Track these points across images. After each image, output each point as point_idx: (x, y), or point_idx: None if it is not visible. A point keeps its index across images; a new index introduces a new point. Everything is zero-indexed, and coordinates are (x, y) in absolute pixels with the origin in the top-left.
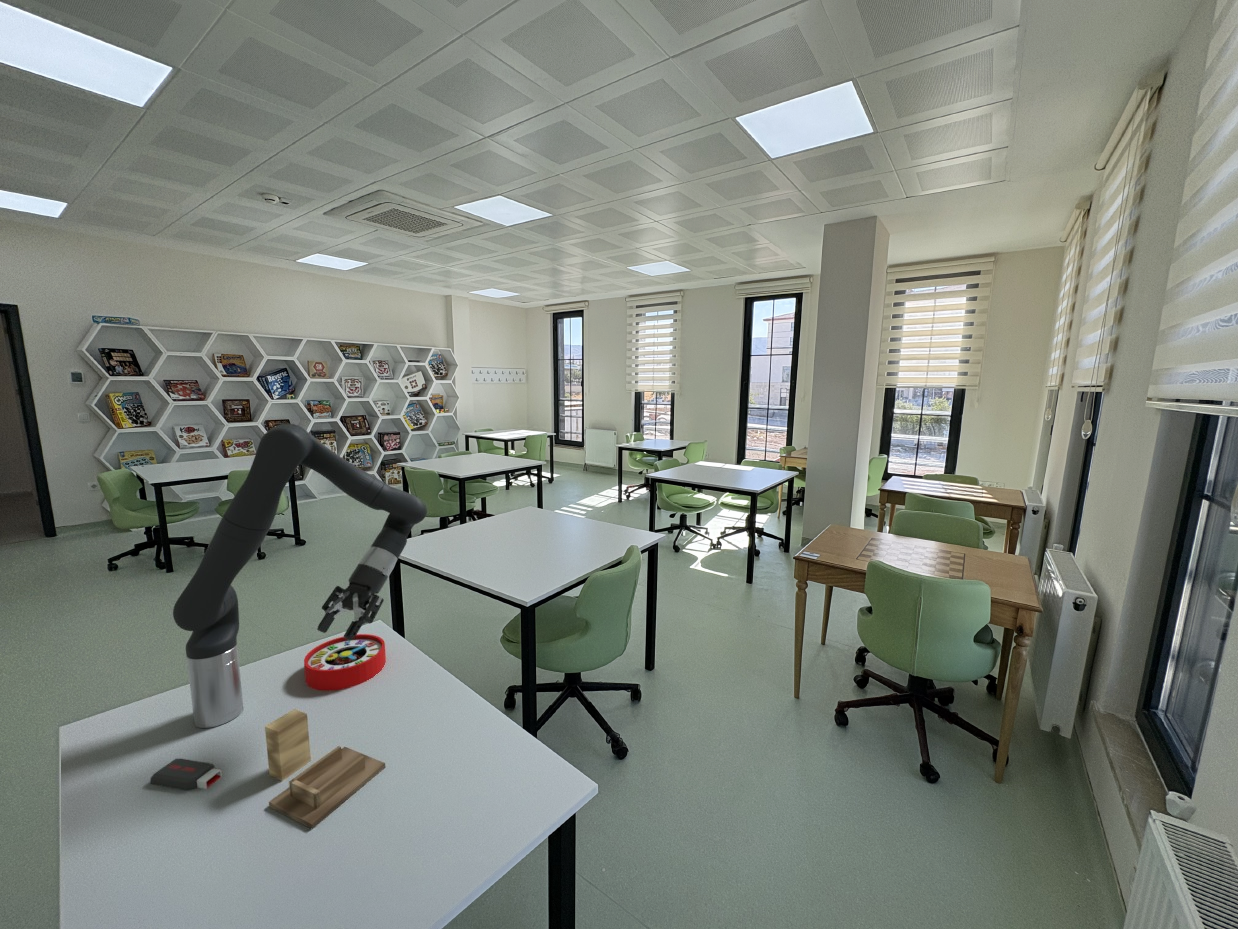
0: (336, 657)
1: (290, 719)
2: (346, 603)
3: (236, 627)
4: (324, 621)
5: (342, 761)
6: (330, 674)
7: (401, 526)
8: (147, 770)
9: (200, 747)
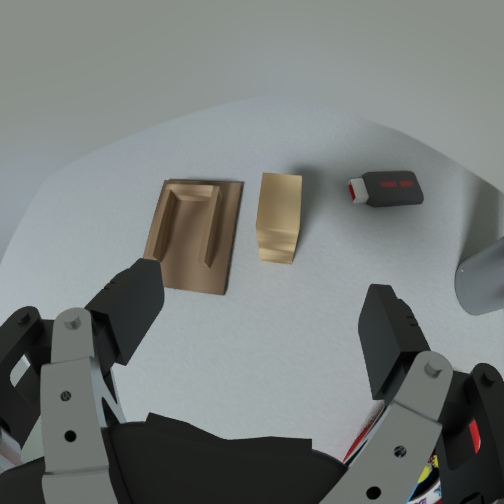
0: (433, 460)
1: (273, 202)
2: (260, 473)
3: None
4: (385, 317)
5: (200, 265)
6: None
7: None
8: (435, 190)
9: (433, 233)
